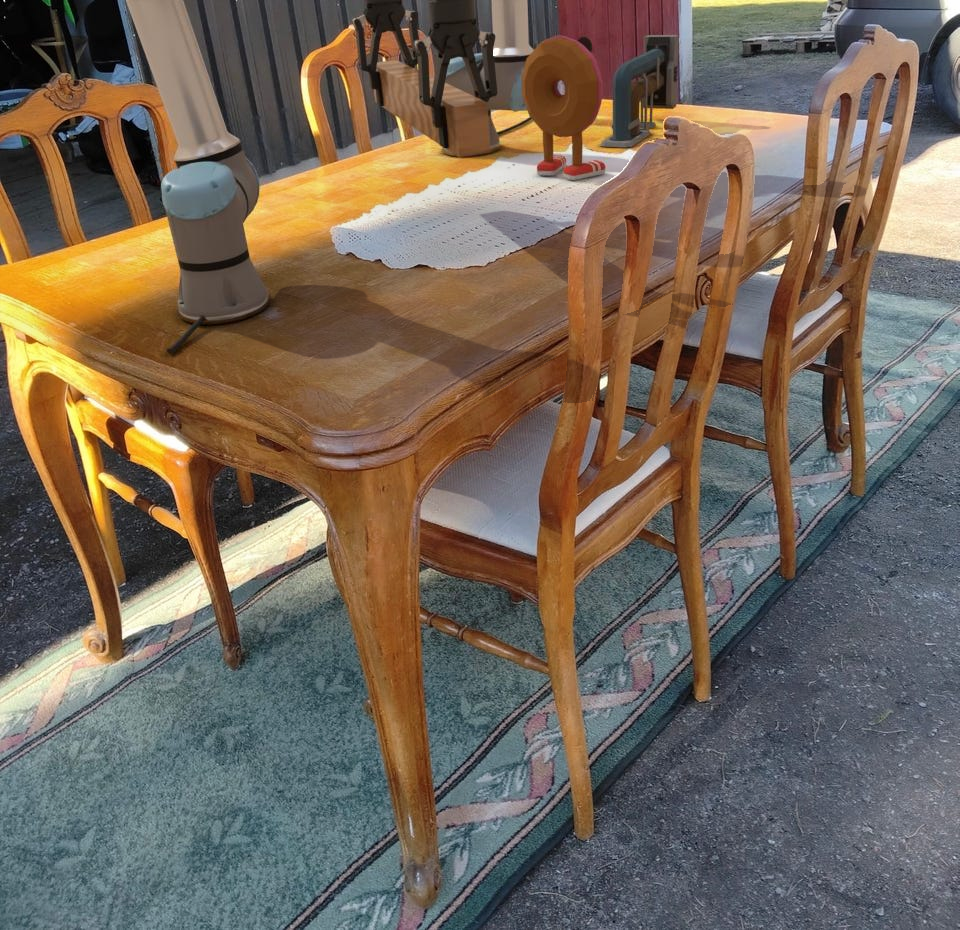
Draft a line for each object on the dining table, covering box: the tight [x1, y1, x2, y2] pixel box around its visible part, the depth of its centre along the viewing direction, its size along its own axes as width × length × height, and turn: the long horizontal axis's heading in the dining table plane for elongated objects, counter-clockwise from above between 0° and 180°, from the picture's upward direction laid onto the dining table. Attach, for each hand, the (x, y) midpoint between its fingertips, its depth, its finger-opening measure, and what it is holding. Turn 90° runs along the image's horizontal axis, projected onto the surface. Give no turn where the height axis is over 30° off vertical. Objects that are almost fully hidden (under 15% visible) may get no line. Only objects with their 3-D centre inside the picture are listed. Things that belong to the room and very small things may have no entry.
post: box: [373, 59, 491, 158], centre depth 183 cm, size 60×6×8 cm, turn 19°
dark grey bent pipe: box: [599, 34, 679, 148], centre depth 253 cm, size 35×9×21 cm, turn 151°
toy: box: [521, 34, 606, 181], centre depth 218 cm, size 21×10×30 cm, turn 47°
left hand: (462, 143), depth 166 cm, fingers closed on post, 6 cm apart
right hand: (395, 102), depth 204 cm, fingers closed on post, 6 cm apart
